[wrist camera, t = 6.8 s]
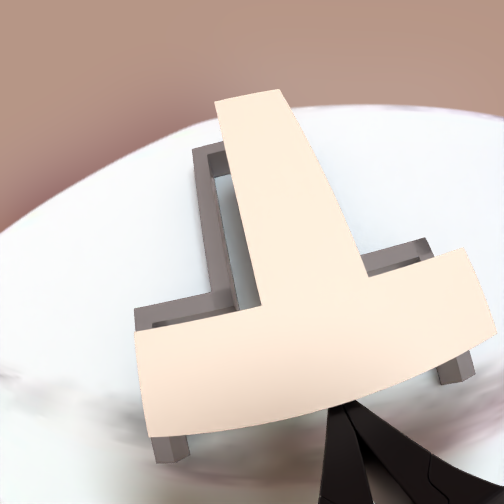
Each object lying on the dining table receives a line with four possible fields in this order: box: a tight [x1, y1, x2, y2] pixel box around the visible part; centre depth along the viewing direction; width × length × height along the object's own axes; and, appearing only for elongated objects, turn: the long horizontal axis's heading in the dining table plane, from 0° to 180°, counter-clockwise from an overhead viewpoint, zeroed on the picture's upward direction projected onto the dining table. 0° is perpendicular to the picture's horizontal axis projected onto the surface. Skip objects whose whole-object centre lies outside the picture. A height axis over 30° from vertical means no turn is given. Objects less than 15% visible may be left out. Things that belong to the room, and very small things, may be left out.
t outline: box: [134, 141, 475, 464], centre depth 17 cm, size 20×17×2 cm
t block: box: [134, 89, 497, 437], centre depth 14 cm, size 14×12×8 cm
